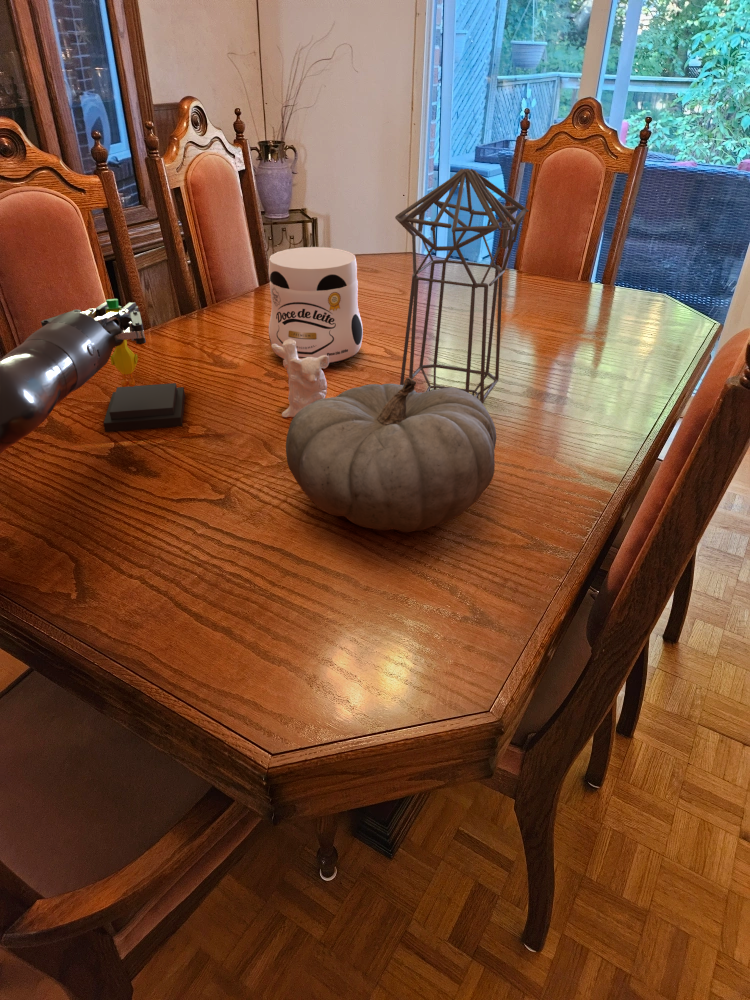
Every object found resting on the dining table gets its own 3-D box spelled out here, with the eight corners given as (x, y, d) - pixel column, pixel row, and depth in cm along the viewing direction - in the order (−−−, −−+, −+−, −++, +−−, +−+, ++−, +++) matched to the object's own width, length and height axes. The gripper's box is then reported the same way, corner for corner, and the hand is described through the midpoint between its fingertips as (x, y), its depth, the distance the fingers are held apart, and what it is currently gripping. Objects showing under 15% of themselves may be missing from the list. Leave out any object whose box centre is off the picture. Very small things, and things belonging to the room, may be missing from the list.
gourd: (496, 565, 70) (485, 409, 62) (275, 568, 76) (241, 426, 68) (502, 467, 92) (494, 342, 84) (329, 475, 98) (308, 359, 90)
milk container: (287, 380, 116) (279, 275, 106) (259, 346, 129) (250, 250, 119) (377, 365, 122) (378, 264, 112) (342, 334, 135) (340, 242, 125)
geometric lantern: (385, 423, 103) (390, 173, 83) (418, 384, 115) (428, 158, 95) (485, 442, 98) (515, 181, 78) (508, 399, 110) (538, 165, 91)
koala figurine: (272, 422, 103) (266, 348, 96) (282, 403, 108) (277, 332, 102) (326, 425, 102) (323, 351, 95) (333, 406, 107) (331, 334, 101)
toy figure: (138, 393, 93) (120, 308, 86) (111, 395, 92) (91, 309, 86) (144, 374, 98) (127, 293, 92) (119, 376, 98) (100, 294, 91)
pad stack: (106, 437, 98) (101, 415, 96) (116, 405, 107) (111, 385, 105) (183, 431, 100) (179, 409, 98) (186, 400, 109) (182, 380, 107)
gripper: (16, 382, 81) (80, 333, 95) (129, 386, 80) (176, 337, 94) (-3, 321, 76) (66, 280, 91) (116, 325, 76) (167, 283, 90)
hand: (122, 309), depth 92 cm, fingers closed on toy figure, 3 cm apart
